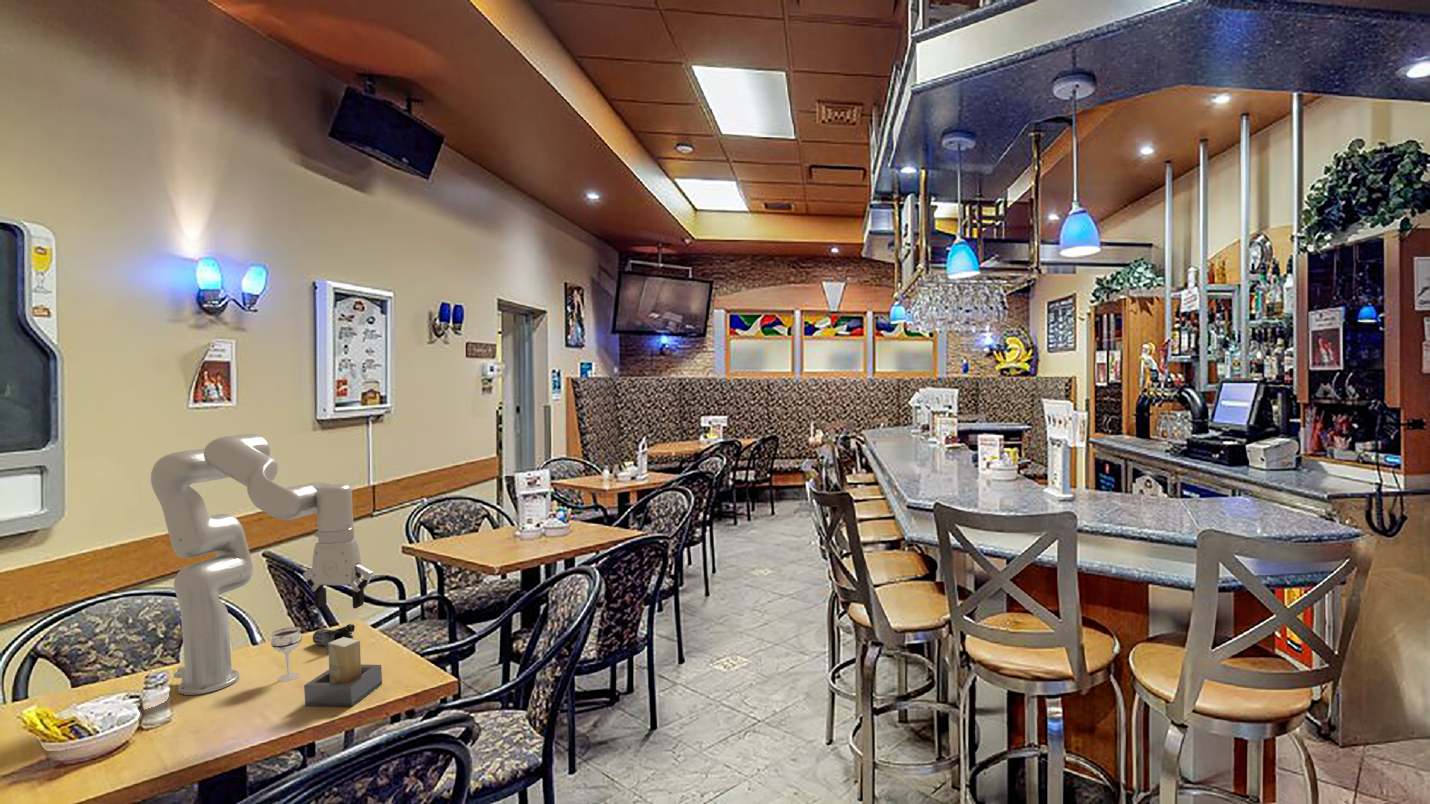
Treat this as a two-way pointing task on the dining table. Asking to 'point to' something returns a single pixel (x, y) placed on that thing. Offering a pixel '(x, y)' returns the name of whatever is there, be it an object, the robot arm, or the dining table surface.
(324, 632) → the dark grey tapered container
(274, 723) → the dining table surface
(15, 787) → the dining table surface
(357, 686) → the rectangular box socket
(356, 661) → the skincare box
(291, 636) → the wineglass
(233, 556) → the robot arm
